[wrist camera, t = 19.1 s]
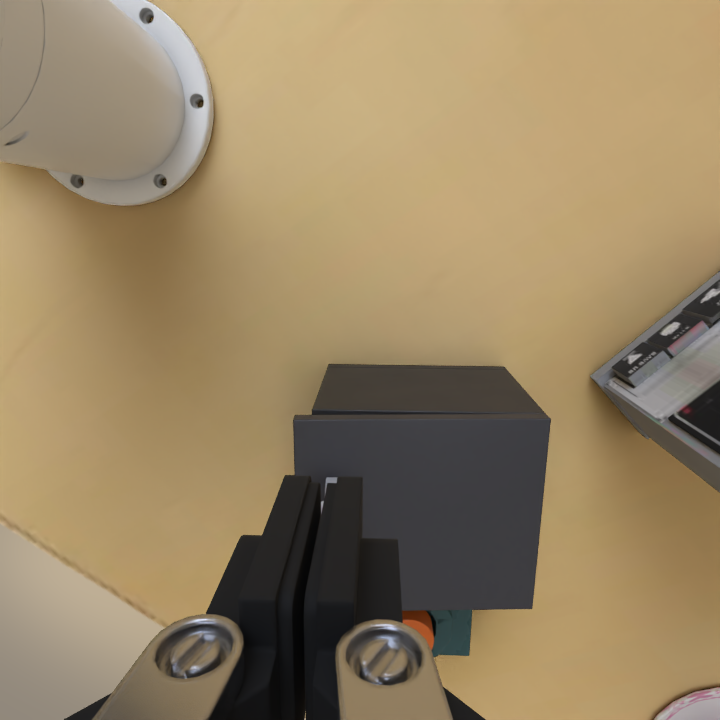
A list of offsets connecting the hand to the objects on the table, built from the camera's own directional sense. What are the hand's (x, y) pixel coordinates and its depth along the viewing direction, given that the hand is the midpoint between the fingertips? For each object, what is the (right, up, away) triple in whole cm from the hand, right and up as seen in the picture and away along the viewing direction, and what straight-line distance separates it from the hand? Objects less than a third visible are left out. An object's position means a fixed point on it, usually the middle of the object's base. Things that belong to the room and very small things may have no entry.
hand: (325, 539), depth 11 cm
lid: (+4, -5, +18) cm, 19 cm away
